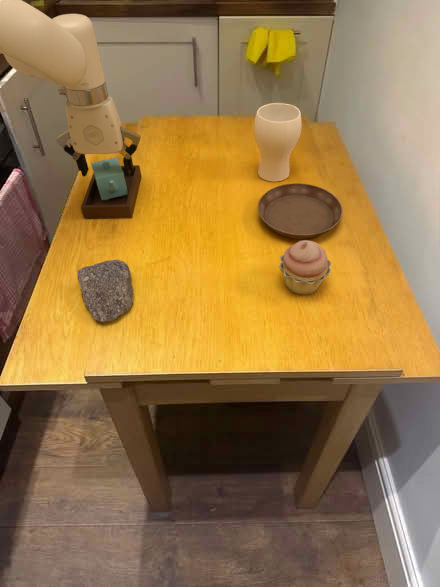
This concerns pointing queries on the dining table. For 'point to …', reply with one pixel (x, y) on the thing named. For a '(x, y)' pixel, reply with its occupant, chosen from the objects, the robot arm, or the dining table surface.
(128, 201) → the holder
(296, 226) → the plant saucer
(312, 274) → the cupcake
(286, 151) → the cup
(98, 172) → the teapot
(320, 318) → the dining table surface
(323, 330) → the dining table surface
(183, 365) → the dining table surface
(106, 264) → the rock
